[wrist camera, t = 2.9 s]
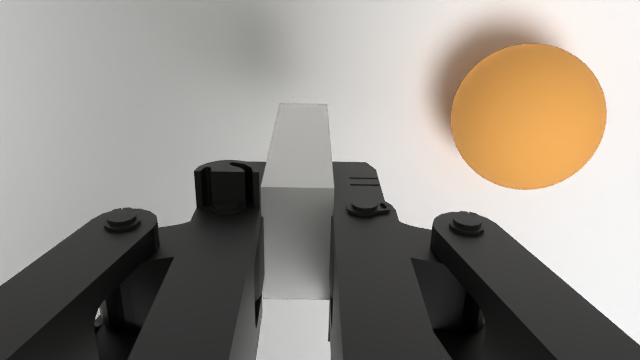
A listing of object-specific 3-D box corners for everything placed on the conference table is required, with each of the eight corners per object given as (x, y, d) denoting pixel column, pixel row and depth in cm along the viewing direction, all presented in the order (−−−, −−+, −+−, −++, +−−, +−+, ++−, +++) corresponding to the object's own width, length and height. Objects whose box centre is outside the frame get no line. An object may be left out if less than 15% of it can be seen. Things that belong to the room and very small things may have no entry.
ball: (430, 159, 26) (464, 213, 21) (444, 32, 24) (485, 54, 18) (552, 161, 26) (617, 215, 21) (577, 35, 24) (658, 58, 18)
